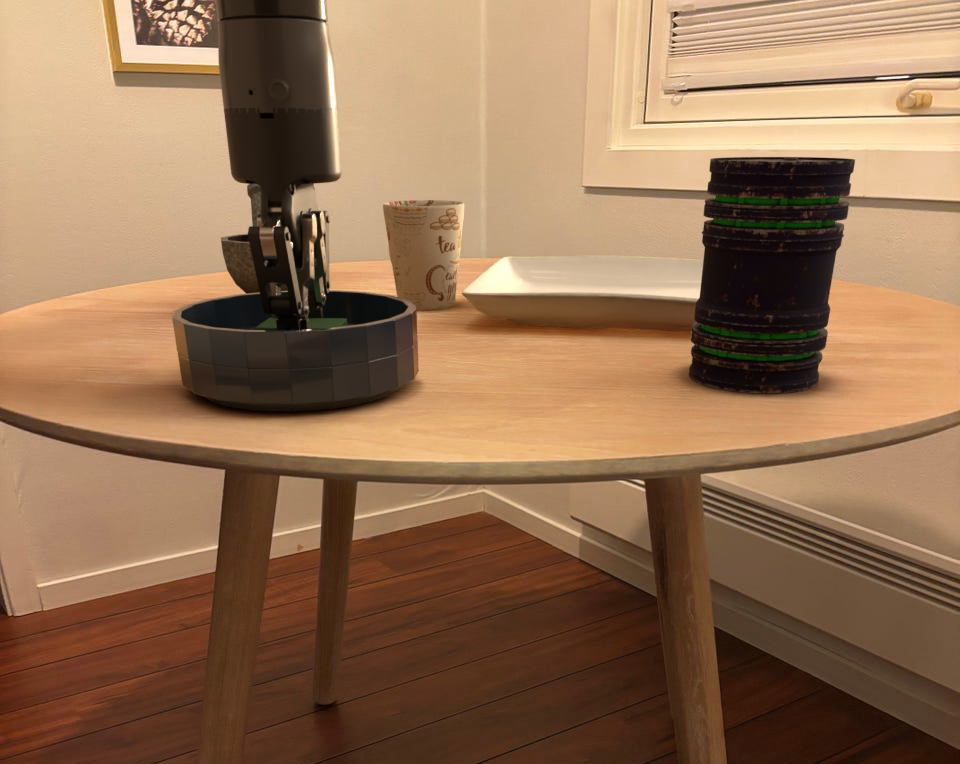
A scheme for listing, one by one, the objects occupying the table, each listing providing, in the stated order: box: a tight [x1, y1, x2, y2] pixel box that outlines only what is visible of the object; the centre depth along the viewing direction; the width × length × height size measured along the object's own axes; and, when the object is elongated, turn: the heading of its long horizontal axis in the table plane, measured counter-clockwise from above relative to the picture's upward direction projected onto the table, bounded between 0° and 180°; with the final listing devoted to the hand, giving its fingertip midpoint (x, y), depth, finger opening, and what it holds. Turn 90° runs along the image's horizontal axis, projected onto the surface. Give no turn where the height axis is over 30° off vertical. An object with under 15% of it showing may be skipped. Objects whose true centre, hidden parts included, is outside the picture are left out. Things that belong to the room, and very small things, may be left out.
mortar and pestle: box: [220, 184, 288, 294], centre depth 98 cm, size 11×9×12 cm
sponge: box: [255, 318, 347, 330], centre depth 71 cm, size 6×4×4 cm, turn 86°
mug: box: [382, 199, 465, 311], centre depth 101 cm, size 8×13×10 cm, turn 33°
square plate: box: [461, 255, 704, 332], centre depth 97 cm, size 27×27×4 cm
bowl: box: [171, 289, 420, 412], centre depth 70 cm, size 17×17×6 cm
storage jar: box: [688, 156, 856, 394], centre depth 69 cm, size 10×10×15 cm
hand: (304, 363), depth 71 cm, fingers closed on sponge, 4 cm apart
